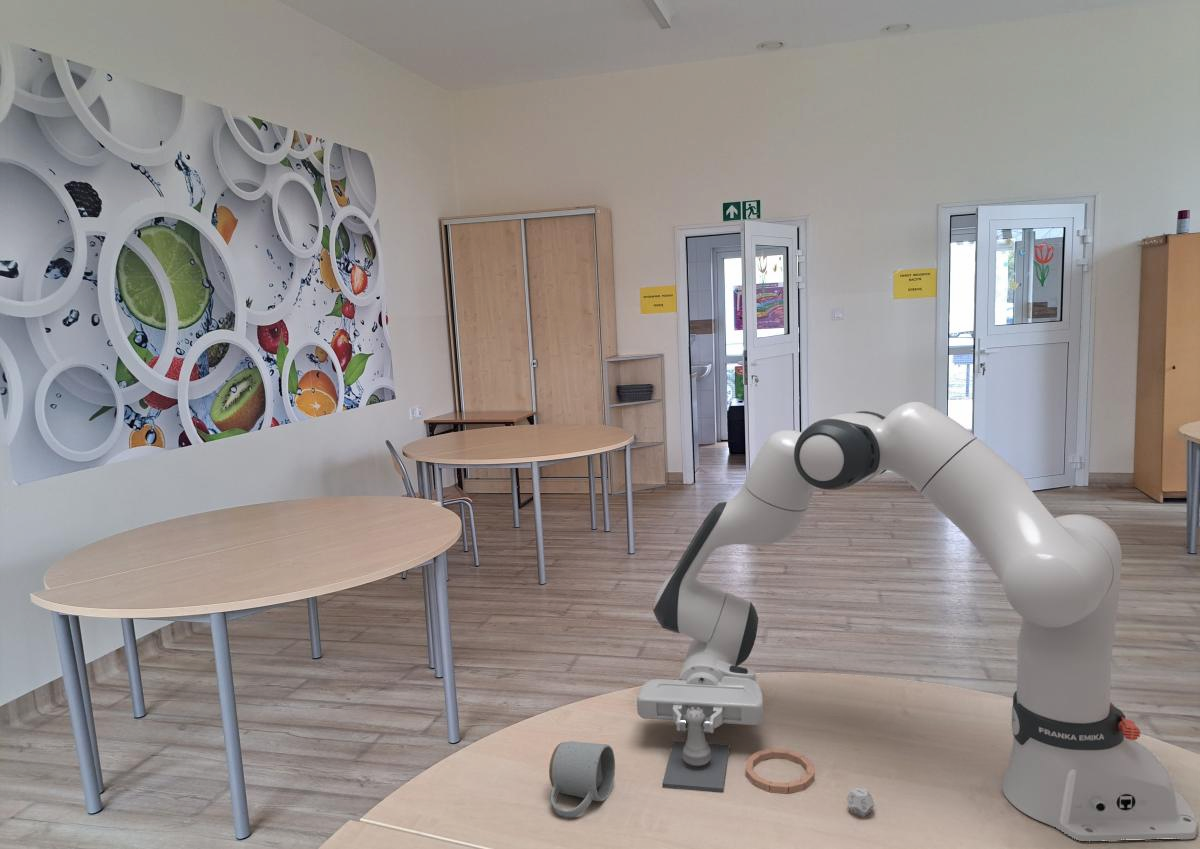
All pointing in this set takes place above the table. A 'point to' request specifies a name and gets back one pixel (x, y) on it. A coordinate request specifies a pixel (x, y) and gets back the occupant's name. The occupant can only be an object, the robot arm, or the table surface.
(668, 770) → the charcoal mat
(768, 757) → the terracotta ring
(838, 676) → the table surface
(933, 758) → the table surface
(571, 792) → the ceramic mug
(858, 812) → the game die
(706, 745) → the rook chess piece
